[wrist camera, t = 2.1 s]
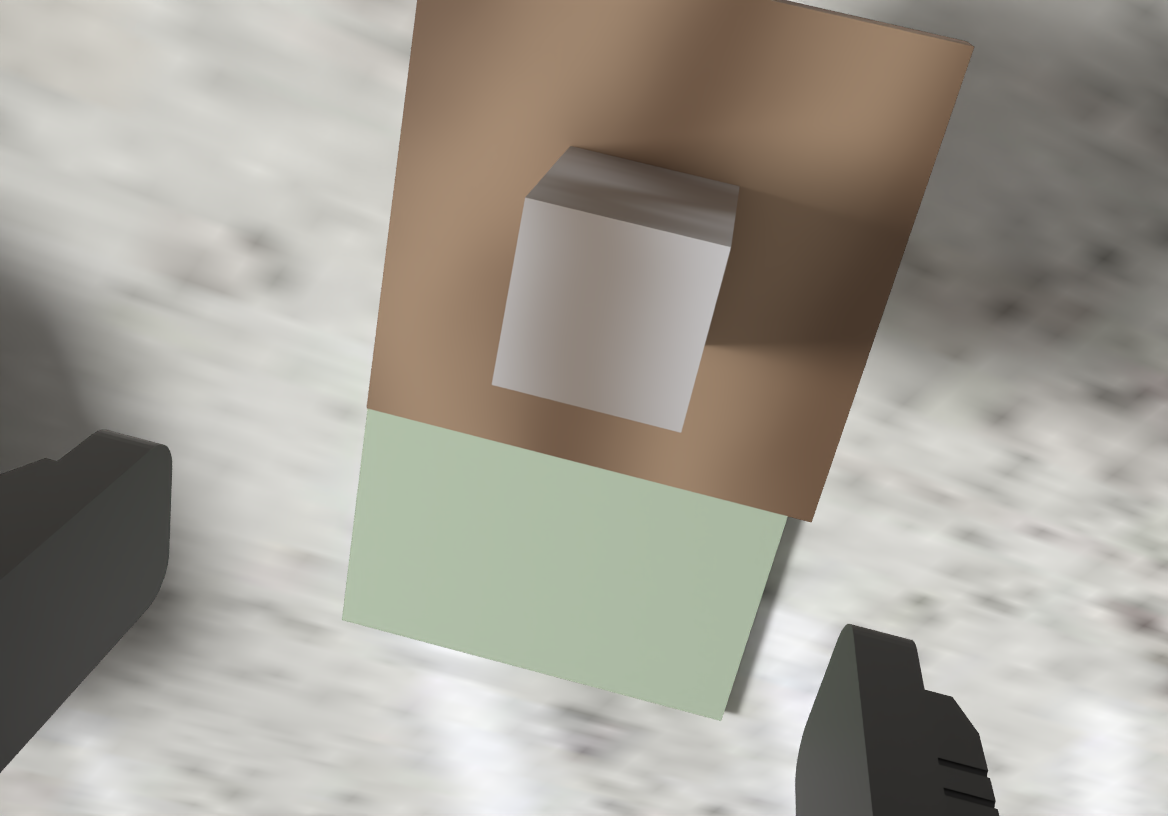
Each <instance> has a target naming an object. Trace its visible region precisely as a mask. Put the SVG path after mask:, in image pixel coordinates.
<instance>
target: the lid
mask: <svg viewBox="0 0 1168 816" xmlns="http://www.w3.org/2000/svg"><path fill="white" fill-rule="evenodd" d="M973 49H974V46H973V45H971V44H970V43H968V42H967V41H963V40H958V39H954V38H950V37H945V36H941V35H936V34H932V33H928V32H923V31H919V30H914V29H910V28H906V27H901V26H897V25H892V24H888V23H884V22H879V21H875V20H870V19H866V18H862V17H857V16H853V15H848V14H844V13H840V12H835V11H831V10H826V9H822V8H818V7H813V6H809V5H804V4H800V3H796V2H791V1H787V0H417V6H416V15H415V23H414V31H413V39H412V47H411V55H410V63H409V71H408V79H407V87H406V95H405V103H404V111H403V119H402V127H401V135H400V143H399V151H398V159H397V167H396V176H395V184H394V192H393V200H392V208H391V216H390V224H389V232H388V240H387V248H386V256H385V264H384V272H383V280H382V288H381V296H380V304H379V312H378V320H377V328H376V337H375V345H374V353H373V361H372V369H371V377H370V385H369V393H368V401H367V409H371V410H375V411H379V412H383V413H387V414H391V415H394V416H398V417H402V418H406V419H410V420H414V421H418V422H422V423H426V424H430V425H433V426H437V427H441V428H445V429H449V430H453V431H457V432H461V433H465V434H469V435H472V436H476V437H480V438H484V439H488V440H492V441H496V442H500V443H504V444H508V445H511V446H515V447H519V448H523V449H527V450H531V451H535V452H539V453H543V454H546V455H550V456H554V457H558V458H562V459H566V460H570V461H574V462H578V463H582V464H585V465H589V466H593V467H597V468H601V469H605V470H609V471H613V472H617V473H621V474H624V475H628V476H632V477H636V478H640V479H644V480H648V481H652V482H656V483H660V484H663V485H667V486H671V487H675V488H679V489H683V490H687V491H691V492H695V493H699V494H702V495H706V496H710V497H714V498H718V499H722V500H726V501H730V502H734V503H738V504H741V505H745V506H749V507H753V508H757V509H761V510H765V511H769V512H773V513H777V514H780V515H784V516H788V517H792V518H796V519H800V520H804V521H808V522H812V519H813V517H814V514H815V511H816V508H817V505H818V502H819V499H820V496H821V493H822V490H823V487H824V484H825V481H826V479H827V476H828V473H829V470H830V467H831V464H832V461H833V458H834V455H835V452H836V449H837V446H838V443H839V441H840V438H841V435H842V432H843V429H844V426H845V423H846V420H847V417H848V414H849V411H850V408H851V406H852V403H853V400H854V397H855V394H856V391H857V388H858V385H859V382H860V379H861V376H862V373H863V370H864V368H865V365H866V362H867V359H868V356H869V353H870V350H871V347H872V344H873V341H874V338H875V335H876V332H877V330H878V327H879V324H880V321H881V318H882V315H883V312H884V309H885V306H886V303H887V300H888V297H889V295H890V292H891V289H892V286H893V283H894V280H895V277H896V274H897V271H898V268H899V265H900V262H901V259H902V257H903V254H904V251H905V248H906V245H907V242H908V239H909V236H910V233H911V230H912V227H913V224H914V222H915V219H916V216H917V213H918V210H919V207H920V204H921V201H922V198H923V195H924V192H925V189H926V186H927V184H928V181H929V178H930V175H931V172H932V169H933V166H934V163H935V160H936V157H937V154H938V151H939V148H940V146H941V143H942V140H943V137H944V134H945V131H946V128H947V125H948V122H949V119H950V116H951V113H952V111H953V108H954V105H955V102H956V99H957V96H958V93H959V90H960V87H961V84H962V81H963V78H964V75H965V73H966V70H967V67H968V64H969V61H970V58H971V55H972V52H973Z"/></svg>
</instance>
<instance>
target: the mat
mask: <svg viewBox="0 0 1168 816" xmlns="http://www.w3.org/2000/svg"><path fill="white" fill-rule="evenodd" d="M787 517H788V516H784V515H780V514H777V513H773V512H769V511H765V510H761V509H757V508H753V507H749V506H745V505H741V504H738V503H734V502H730V501H726V500H722V499H718V498H714V497H710V496H706V495H702V494H699V493H695V492H691V491H687V490H683V489H679V488H675V487H671V486H667V485H663V484H660V483H656V482H652V481H648V480H644V479H640V478H636V477H632V476H628V475H624V474H621V473H617V472H613V471H609V470H605V469H601V468H597V467H593V466H589V465H585V464H582V463H578V462H574V461H570V460H566V459H562V458H558V457H554V456H550V455H546V454H543V453H539V452H535V451H531V450H527V449H523V448H519V447H515V446H511V445H508V444H504V443H500V442H496V441H492V440H488V439H484V438H480V437H476V436H472V435H469V434H465V433H461V432H457V431H453V430H449V429H445V428H441V427H437V426H433V425H430V424H426V423H422V422H418V421H414V420H410V419H406V418H402V417H398V416H394V415H391V414H387V413H383V412H379V411H375V410H371V409H368V410H367V418H366V426H365V434H364V442H363V451H362V459H361V467H360V475H359V484H358V492H357V500H356V508H355V516H354V525H353V533H352V541H351V549H350V558H349V566H348V574H347V582H346V590H345V599H344V607H343V615H342V620H344V621H347V622H351V623H355V624H359V625H362V626H366V627H370V628H374V629H378V630H381V631H385V632H389V633H393V634H396V635H400V636H404V637H408V638H411V639H415V640H419V641H423V642H426V643H430V644H434V645H438V646H441V647H445V648H449V649H453V650H456V651H460V652H464V653H468V654H471V655H475V656H479V657H483V658H486V659H490V660H494V661H498V662H501V663H505V664H509V665H513V666H516V667H520V668H524V669H528V670H531V671H535V672H539V673H543V674H546V675H550V676H554V677H558V678H561V679H565V680H569V681H573V682H576V683H580V684H584V685H588V686H591V687H595V688H599V689H603V690H607V691H610V692H614V693H618V694H622V695H625V696H629V697H633V698H637V699H640V700H644V701H648V702H652V703H655V704H659V705H663V706H667V707H670V708H674V709H678V710H682V711H685V712H689V713H693V714H697V715H700V716H704V717H708V718H712V719H715V720H719V721H721V720H722V717H723V714H724V711H725V708H726V705H727V702H728V699H729V695H730V692H731V689H732V686H733V683H734V680H735V677H736V674H737V671H738V668H739V665H740V662H741V659H742V656H743V652H744V649H745V646H746V643H747V640H748V637H749V634H750V631H751V628H752V625H753V622H754V619H755V616H756V613H757V609H758V606H759V603H760V600H761V597H762V594H763V591H764V588H765V585H766V582H767V579H768V576H769V573H770V570H771V567H772V563H773V560H774V557H775V554H776V551H777V548H778V545H779V542H780V539H781V536H782V533H783V530H784V527H785V524H786V520H787Z"/></svg>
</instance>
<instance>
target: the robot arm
mask: <svg viewBox="0 0 1168 816" xmlns="http://www.w3.org/2000/svg"><path fill="white" fill-rule="evenodd" d="M171 486H172V457H171V453H170V450H169V449H168V447H167V446H165V445H162V444H159V443H155V442H151V441H147V440H143V439H139V438H135V437H132V436H128V435H124V434H120V433H116V432H112V431H108V430H100V431H97V432H95V433H94V434H92V435H91V436H90V437H88V438H87V439H86V440H85V441H83V442H82V443H81V444H79V445H78V446H77V447H75V448H74V449H73V450H72V451H70V452H69V453H68V454H66V455H65V456H64V457H62V458H61V459H60V460H59V461H54V460H50V459H46V458H45V459H42V460H39V461H37V462H34V463H31V464H28V465H25V466H23V467H20V468H17V469H14V470H12V471H9V472H6V473H3V474H1V475H0V773H1V771H2V770H3V769H4V768H5V767H6V766H7V765H8V764H9V763H10V761H11V760H12V759H13V758H14V757H15V756H16V755H17V754H18V753H19V751H20V750H21V749H22V748H23V747H24V746H25V745H26V744H27V742H28V741H29V740H30V739H31V738H32V737H33V736H34V735H35V734H36V732H37V731H38V730H39V729H40V728H41V727H42V726H43V725H44V724H45V722H46V721H47V720H48V719H49V718H50V717H51V716H52V715H53V713H54V712H55V711H56V710H57V709H58V708H59V707H60V706H61V705H62V703H63V702H64V701H65V700H66V699H67V698H68V697H69V696H70V695H71V693H72V692H73V691H74V690H75V689H76V688H77V687H78V686H79V684H80V683H81V682H82V681H83V680H84V679H85V678H86V677H87V676H88V674H89V673H90V672H91V671H92V670H93V669H94V668H95V667H96V666H97V664H98V663H99V662H100V661H101V660H102V659H103V658H104V657H105V656H106V654H107V653H108V652H109V651H110V650H111V649H112V648H113V647H114V645H115V644H116V643H117V642H118V641H119V640H120V639H121V638H122V637H123V635H124V634H125V633H126V632H127V631H128V630H129V629H130V628H131V627H132V625H133V624H134V623H135V622H136V621H137V620H138V619H139V618H140V616H141V615H142V614H143V613H144V612H145V611H146V610H147V609H148V607H149V606H150V605H151V603H152V602H153V600H154V599H155V597H156V595H157V593H158V591H159V589H160V587H161V584H162V582H163V579H164V576H165V573H166V569H167V565H168V558H169V539H170V512H171ZM987 772H988V768H987V764H986V760H985V756H984V752H983V748H982V744H981V740H980V736H979V733H978V732H977V730H976V729H975V728H974V726H973V725H972V723H971V722H970V721H969V719H968V718H967V717H966V715H965V714H964V712H963V711H962V710H961V708H960V707H959V705H958V704H957V703H956V701H955V700H954V699H953V697H951V696H947V695H943V694H939V693H936V692H932V691H928V690H925V689H924V684H923V679H922V674H921V668H920V663H919V658H918V653H917V648H916V645H915V643H914V641H913V640H910V639H906V638H902V637H898V636H894V635H890V634H887V633H883V632H879V631H875V630H871V629H867V628H863V627H859V626H856V625H852V624H847V625H846V626H845V627H844V628H843V630H842V631H841V633H840V636H839V638H838V640H837V643H836V646H835V648H834V651H833V654H832V656H831V659H830V662H829V664H828V667H827V670H826V672H825V675H824V678H823V680H822V683H821V686H820V688H819V691H818V694H817V696H816V699H815V702H814V705H813V707H812V710H811V713H810V715H809V718H808V721H807V723H806V726H805V729H804V733H803V736H802V740H801V744H800V749H799V754H798V759H797V766H796V778H795V793H796V816H999V813H998V809H995V808H994V806H995V802H996V801H995V797H994V793H993V789H992V785H991V781H990V778H988V777H987Z"/></svg>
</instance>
